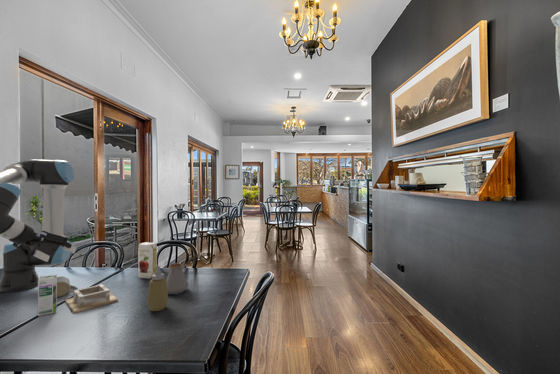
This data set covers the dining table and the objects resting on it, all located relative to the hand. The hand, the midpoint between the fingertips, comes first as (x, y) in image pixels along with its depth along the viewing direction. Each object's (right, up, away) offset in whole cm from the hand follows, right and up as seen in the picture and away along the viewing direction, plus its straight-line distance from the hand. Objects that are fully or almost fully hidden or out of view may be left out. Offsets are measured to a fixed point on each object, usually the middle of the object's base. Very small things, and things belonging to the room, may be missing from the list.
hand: (61, 254), depth 125 cm
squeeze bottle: (+47, -21, -9) cm, 53 cm away
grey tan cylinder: (-4, -20, +6) cm, 21 cm away
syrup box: (+4, -20, -13) cm, 24 cm away
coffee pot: (+50, -21, +15) cm, 56 cm away
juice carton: (+24, -20, +32) cm, 45 cm away
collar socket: (+15, -20, -2) cm, 25 cm away
